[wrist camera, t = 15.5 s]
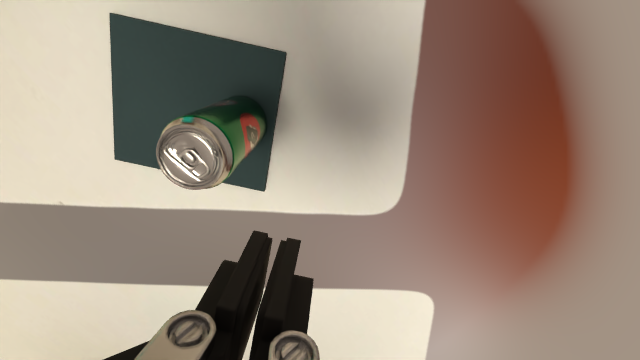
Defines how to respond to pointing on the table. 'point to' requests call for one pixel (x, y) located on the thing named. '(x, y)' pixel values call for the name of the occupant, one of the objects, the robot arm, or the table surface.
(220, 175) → the soda can
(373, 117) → the table surface
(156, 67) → the mat
